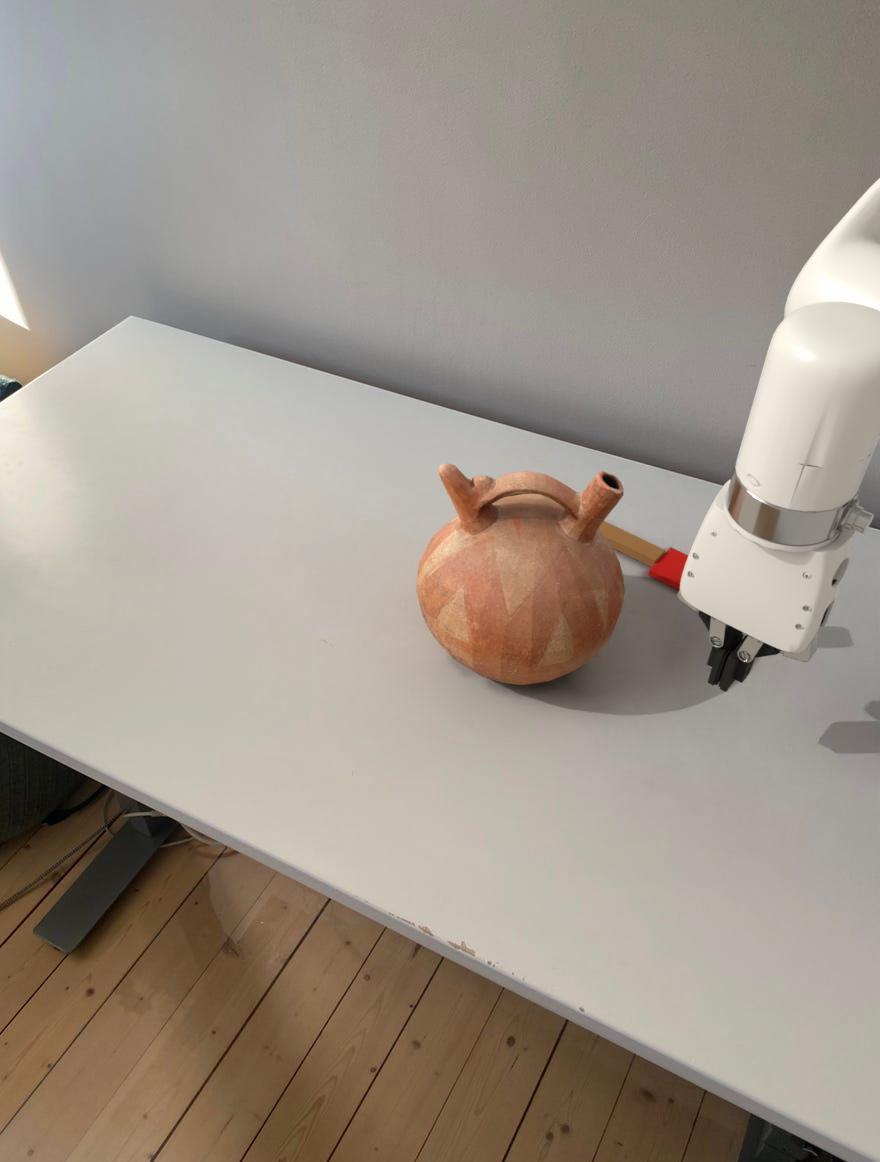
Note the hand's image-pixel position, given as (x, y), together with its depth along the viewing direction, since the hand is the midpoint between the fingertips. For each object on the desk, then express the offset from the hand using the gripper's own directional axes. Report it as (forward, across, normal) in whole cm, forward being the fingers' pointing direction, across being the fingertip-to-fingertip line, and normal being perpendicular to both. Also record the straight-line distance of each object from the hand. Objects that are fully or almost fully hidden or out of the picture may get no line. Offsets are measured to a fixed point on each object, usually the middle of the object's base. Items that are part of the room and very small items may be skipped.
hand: (725, 676), depth 74 cm
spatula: (+9, +17, -17) cm, 26 cm away
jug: (+9, +20, +1) cm, 21 cm away
